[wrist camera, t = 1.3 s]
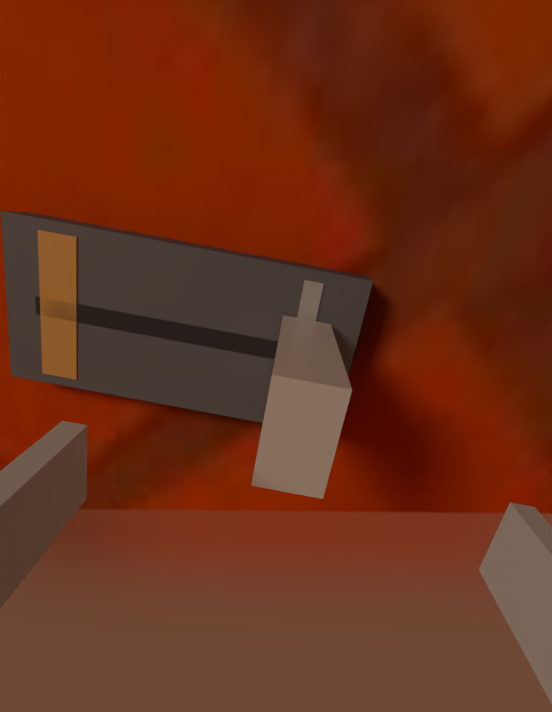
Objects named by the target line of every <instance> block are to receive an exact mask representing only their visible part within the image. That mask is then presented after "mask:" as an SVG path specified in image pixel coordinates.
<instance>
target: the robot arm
mask: <svg viewBox="0 0 552 712" xmlns="http://www.w3.org/2000/svg"><path fill="white" fill-rule="evenodd" d="M86 474H87V425H82V424H77V423H71V422H66V421H62V422H60V423H59V424H58V425H57V426H55V427H54V428H53V429H52V430H50V431H49V432H48V433H47V434H45V435H44V436H43V437H42V438H41V439H39V440H38V441H37V442H36V443H34V444H33V445H32V446H31V447H29V448H28V449H27V450H26V451H25V452H23V453H22V454H21V455H20V456H18V457H17V458H16V459H15V460H13V461H12V462H11V463H10V464H8V465H7V466H6V467H5V468H4V469H2V470H1V471H0V608H1V607H2V606H3V604H4V603H5V602H6V601H7V599H8V598H9V597H10V595H11V594H12V593H13V592H14V590H15V589H16V588H17V586H18V585H19V584H20V582H21V581H22V580H23V579H24V577H25V576H26V575H27V574H28V572H29V571H30V570H31V569H32V567H33V566H34V565H35V564H36V562H37V561H38V560H39V558H40V557H41V556H42V555H43V553H44V552H45V551H46V550H47V548H48V547H49V546H50V544H51V543H52V542H53V541H54V539H55V538H56V537H57V535H58V534H59V533H60V532H61V530H62V529H63V528H64V527H65V525H66V524H67V523H68V521H69V520H70V519H71V518H72V516H73V515H74V514H75V512H76V511H77V510H78V509H79V507H80V506H81V505H82V504H83V502H84V501H85V500H86ZM479 571H480V573H481V575H482V577H483V579H484V580H485V582H486V584H487V586H488V588H489V590H490V591H491V593H492V595H493V597H494V599H495V600H496V602H497V604H498V606H499V608H500V610H501V611H502V613H503V615H504V617H505V619H506V621H507V623H508V625H509V626H510V628H511V630H512V632H513V634H514V635H515V637H516V639H517V641H518V643H519V645H520V647H521V648H522V650H523V652H524V654H525V656H526V658H527V660H528V661H529V663H530V665H531V667H532V669H533V670H534V672H535V674H536V676H537V678H538V680H539V682H540V683H541V685H542V687H543V689H544V691H545V693H546V694H547V696H548V698H549V700H550V702H551V704H552V527H551V525H550V524H549V523H548V522H547V521H546V520H545V519H544V517H543V516H542V515H541V514H540V513H539V512H538V510H537V509H536V508H535V507H532V506H526V505H521V504H515V503H510V504H509V506H508V508H507V510H506V513H505V515H504V517H503V519H502V521H501V523H500V525H499V527H498V530H497V532H496V534H495V536H494V538H493V540H492V542H491V545H490V547H489V549H488V551H487V553H486V555H485V557H484V560H483V562H482V564H481V566H480V568H479Z"/></svg>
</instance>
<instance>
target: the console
mask: <svg viewBox="0 0 552 712" xmlns="http://www.w3.org/2000/svg"><path fill="white" fill-rule="evenodd" d="M1 220H2V236H3V251H4V267H5V283H6V298H7V314H8V329H9V345H10V361H11V376H15V377H20V378H25V379H31V380H36V381H41V382H47V383H52V384H57V385H63V386H68V387H73V388H79V389H84V390H89V391H95V392H100V393H105V394H111V395H116V396H121V397H127V398H132V399H137V400H143V401H148V402H153V403H159V404H164V405H169V406H175V407H180V408H185V409H191V410H196V411H201V412H207V413H212V414H217V415H223V416H228V417H233V418H239V419H244V420H249V421H255V422H260V423H263V420H264V414H265V409H266V404H267V398H268V393H269V387H270V382H271V377H272V371H273V366H274V361H275V356H276V350H277V345H278V340H279V334H280V329H281V324H282V318H283V315H285V316H290V317H296V318H301V319H306V320H312V321H317V322H322V323H328V324H331V327H332V330H333V333H334V336H335V339H336V342H337V345H338V348H339V351H340V354H341V357H342V360H343V363H344V366H345V369H346V372H347V375H349V371H350V367H351V364H352V360H353V356H354V352H355V348H356V345H357V341H358V337H359V333H360V329H361V325H362V322H363V318H364V314H365V310H366V306H367V303H368V299H369V295H370V291H371V287H372V284H373V280H371V279H370V278H368V277H367V276H363V275H358V274H353V273H347V272H342V271H337V270H331V269H326V268H321V267H315V266H310V265H305V264H300V263H294V262H289V261H284V260H278V259H273V258H268V257H262V256H257V255H252V254H247V253H241V252H236V251H231V250H225V249H220V248H215V247H209V246H204V245H199V244H193V243H188V242H183V241H178V240H172V239H167V238H162V237H156V236H151V235H146V234H140V233H135V232H130V231H124V230H119V229H114V228H109V227H103V226H98V225H93V224H87V223H82V222H77V221H71V220H66V219H61V218H55V217H50V216H45V215H40V214H34V213H29V212H12V211H1Z"/></svg>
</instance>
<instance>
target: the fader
mask: <svg viewBox="0 0 552 712" xmlns="http://www.w3.org/2000/svg"><path fill="white" fill-rule="evenodd" d="M351 392H352V388H351V385H350V382H349V379H348V375H347V372H346V369H345V366H344V363H343V360H342V357H341V354H340V351H339V348H338V345H337V342H336V339H335V336H334V333H333V330H332V327H331V324H328V323H322V322H317V321H312V320H306V319H301V318H296V317H290V316H285V315H283V318H282V324H281V329H280V334H279V340H278V345H277V350H276V356H275V361H274V366H273V371H272V377H271V382H270V387H269V393H268V398H267V404H266V409H265V414H264V420H263V425H262V430H261V436H260V441H259V446H258V452H257V457H256V462H255V468H254V473H253V479H252V484H251V486H257V487H262V488H267V489H273V490H278V491H283V492H289V493H294V494H300V495H305V496H310V497H316V498H321V499H323V496H324V493H325V489H326V485H327V481H328V478H329V474H330V470H331V467H332V463H333V459H334V456H335V452H336V448H337V444H338V441H339V437H340V433H341V430H342V426H343V422H344V418H345V415H346V411H347V407H348V404H349V400H350V396H351Z"/></svg>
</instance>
